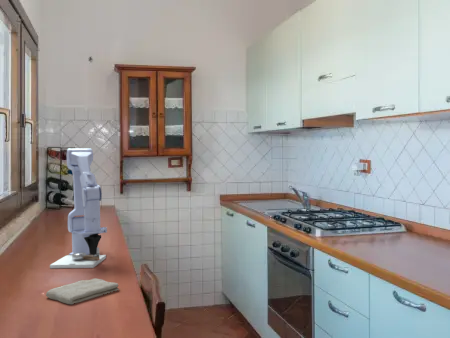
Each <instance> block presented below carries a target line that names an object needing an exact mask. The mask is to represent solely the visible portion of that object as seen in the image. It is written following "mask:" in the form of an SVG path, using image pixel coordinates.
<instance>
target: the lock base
mask: <svg viewBox="0 0 450 338" xmlns="http://www.w3.org/2000/svg"><path fill="white" fill-rule="evenodd" d="M105 259H107V254H100V256H99V259H98V260H84V259H83V260H72V255H69V254H68V255H64V256H63V257H61V258H59V259H58V260H56V261H55V262H52V263H51V264H49V268H50V269H94V268H95V267H96V266H98V265H99V264H101V263H102V262H103V261H104V260H105Z"/></svg>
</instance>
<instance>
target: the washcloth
mask: <svg viewBox="0 0 450 338" xmlns="http://www.w3.org/2000/svg"><path fill="white" fill-rule="evenodd" d="M118 287H119V283H118V282H110V281H106V280H105V279H102V278H91V279H85V280H82V279H81V280H78V281H76V282H73V283H67V284H64V285H61V286H59V287H58V286H57V287H54V288H50V289H49V290H48V291H47V292H46V294H45V296H46V297H47V298H48V299H51V300H54V301H59V302H60V303H63V304H67V305H69V306H70V305H74V303H75V304H78V303H80V302H85V301H87V300H88V301H89V300H91V299H94V298H98V297H100V296H104V295H107V293H108V294H110V292H111V293H114V292H113V291H115V292H118V291H119V290H120V289H119V288H118ZM117 290H118V291H117ZM103 294H104V295H103Z"/></svg>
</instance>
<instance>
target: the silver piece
mask: <svg viewBox="0 0 450 338" xmlns="http://www.w3.org/2000/svg"><path fill="white" fill-rule="evenodd" d="M100 255H101V254H100V247H99V246H97V253H96V255H90V254H88V255H86V253H85V252H77V253H73V254H72V260H83V259H84V260H98V259H99V256H100Z"/></svg>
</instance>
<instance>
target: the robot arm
mask: <svg viewBox="0 0 450 338" xmlns="http://www.w3.org/2000/svg"><path fill="white" fill-rule="evenodd" d="M93 160H94V151H93V149H92V148H90V147H89V148H86V147H85V148H84V147H83V148H79V147H78V148H70V147H69V148H67V150H66V167H67V169H69V170H71V172H72V181H73V182H72V183H73V184H72V186H73V187H72V188H73V202H74V203H73V206H74V207H73V210H70V212H69V213H68V215H67V230H68V232H69V233H71V246H72V247H71V249H72V250H71V251H72V252H69V254H68V255H72V254H73V253H77V252H85V253H86V255H96V253H97V247H99V242H100V241H101V239H102V235H101V234H104V233H108V227H107V226H106V227H101V201H102V196H103V195H102V194H103V193H102V188H101V185H99V184H98V183H97V179H96V176H95V174H94V173H93V172H91V166H92V163H93Z"/></svg>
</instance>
